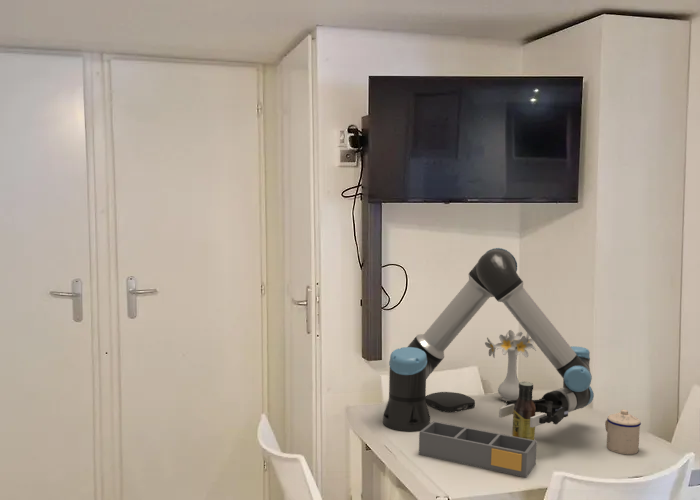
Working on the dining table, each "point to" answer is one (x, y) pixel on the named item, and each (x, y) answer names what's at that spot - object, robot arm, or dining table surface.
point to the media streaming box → (449, 401)
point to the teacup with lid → (623, 433)
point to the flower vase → (511, 361)
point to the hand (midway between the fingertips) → (515, 417)
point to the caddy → (478, 448)
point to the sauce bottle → (524, 412)
